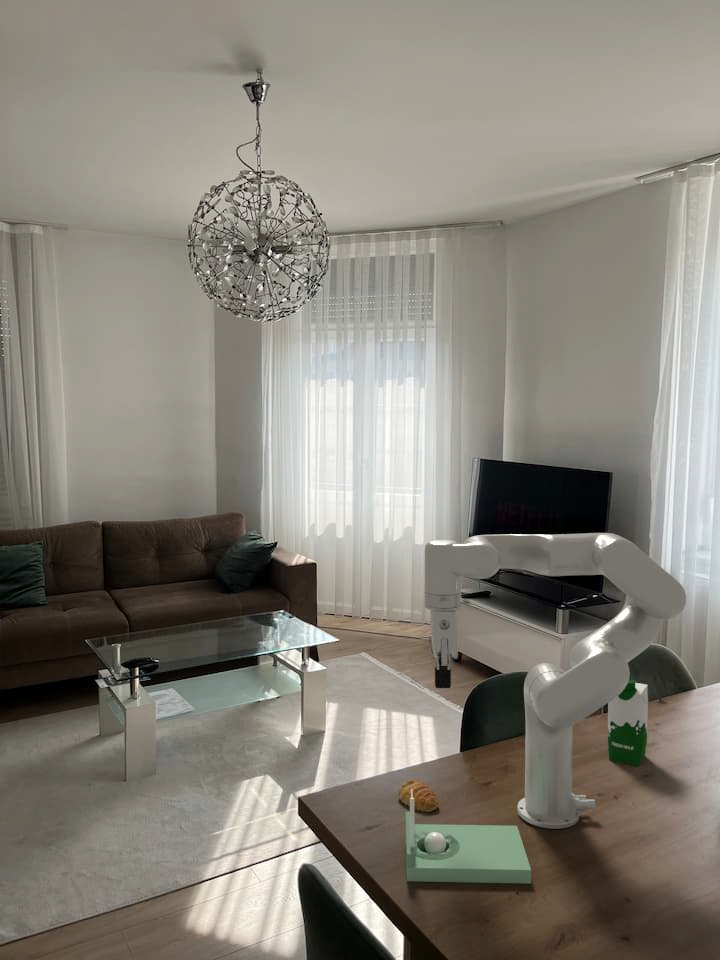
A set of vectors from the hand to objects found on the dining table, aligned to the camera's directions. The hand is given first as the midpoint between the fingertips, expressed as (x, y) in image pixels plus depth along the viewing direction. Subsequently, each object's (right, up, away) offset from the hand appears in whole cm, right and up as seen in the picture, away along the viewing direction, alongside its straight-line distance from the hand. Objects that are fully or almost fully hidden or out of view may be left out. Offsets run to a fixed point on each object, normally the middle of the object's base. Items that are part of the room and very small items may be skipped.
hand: (442, 686), depth 157 cm
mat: (+2, -28, -15) cm, 32 cm away
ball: (-3, -26, -14) cm, 30 cm away
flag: (-8, -28, -18) cm, 35 cm away
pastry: (-4, -27, +7) cm, 28 cm away
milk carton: (+48, -25, +28) cm, 61 cm away
